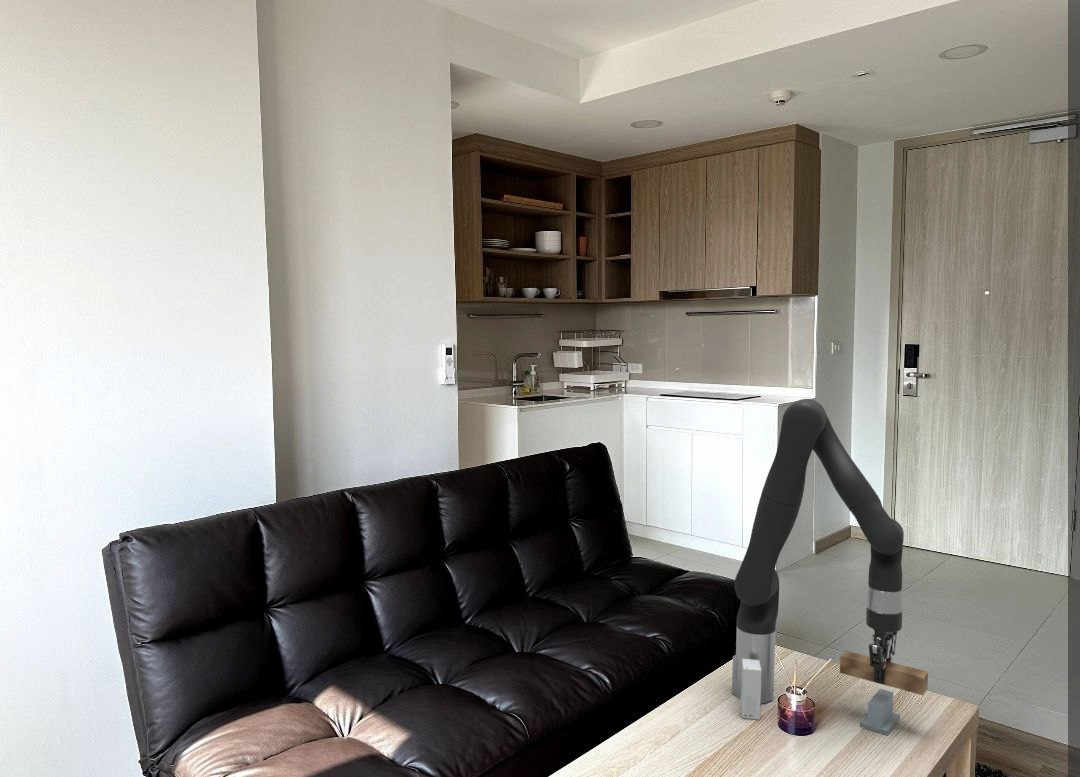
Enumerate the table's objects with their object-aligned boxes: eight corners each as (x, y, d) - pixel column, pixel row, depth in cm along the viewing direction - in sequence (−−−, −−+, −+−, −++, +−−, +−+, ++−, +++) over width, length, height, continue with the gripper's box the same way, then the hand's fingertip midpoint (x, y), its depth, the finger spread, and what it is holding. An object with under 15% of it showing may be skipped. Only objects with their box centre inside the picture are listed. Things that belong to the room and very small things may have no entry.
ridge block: (859, 726, 177) (860, 701, 177) (873, 710, 185) (873, 685, 184) (887, 735, 173) (888, 709, 173) (899, 718, 181) (900, 693, 181)
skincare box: (760, 720, 180) (761, 670, 179) (741, 718, 181) (742, 668, 180) (758, 707, 186) (759, 659, 185) (740, 706, 187) (741, 657, 186)
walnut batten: (839, 672, 182) (840, 656, 182) (845, 666, 185) (845, 650, 185) (922, 695, 171) (923, 677, 171) (927, 688, 174) (928, 671, 174)
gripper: (876, 594, 185) (874, 664, 186) (857, 611, 174) (855, 685, 175) (910, 601, 180) (908, 673, 181) (892, 619, 169) (890, 695, 170)
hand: (882, 679), depth 178 cm, fingers closed on walnut batten, 4 cm apart
